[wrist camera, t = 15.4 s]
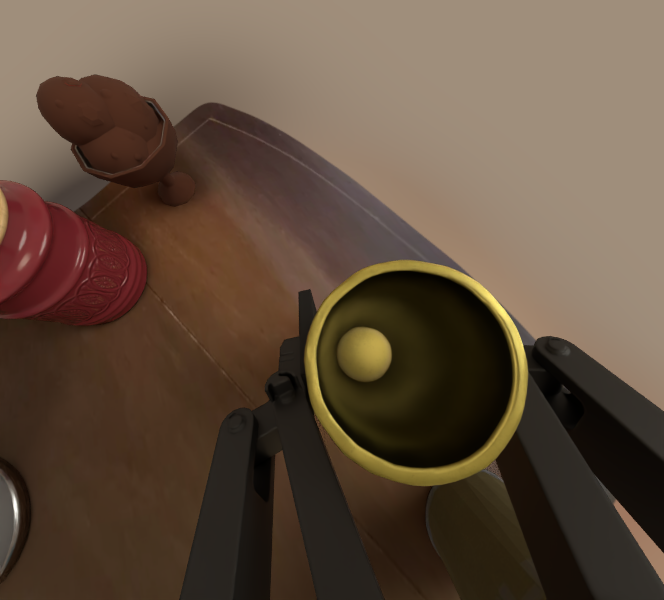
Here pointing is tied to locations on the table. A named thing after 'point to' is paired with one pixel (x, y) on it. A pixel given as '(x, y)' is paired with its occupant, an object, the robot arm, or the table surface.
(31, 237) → the kitchen canister
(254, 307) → the table surface
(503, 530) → the canister
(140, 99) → the ice cream bowl
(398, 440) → the vase
